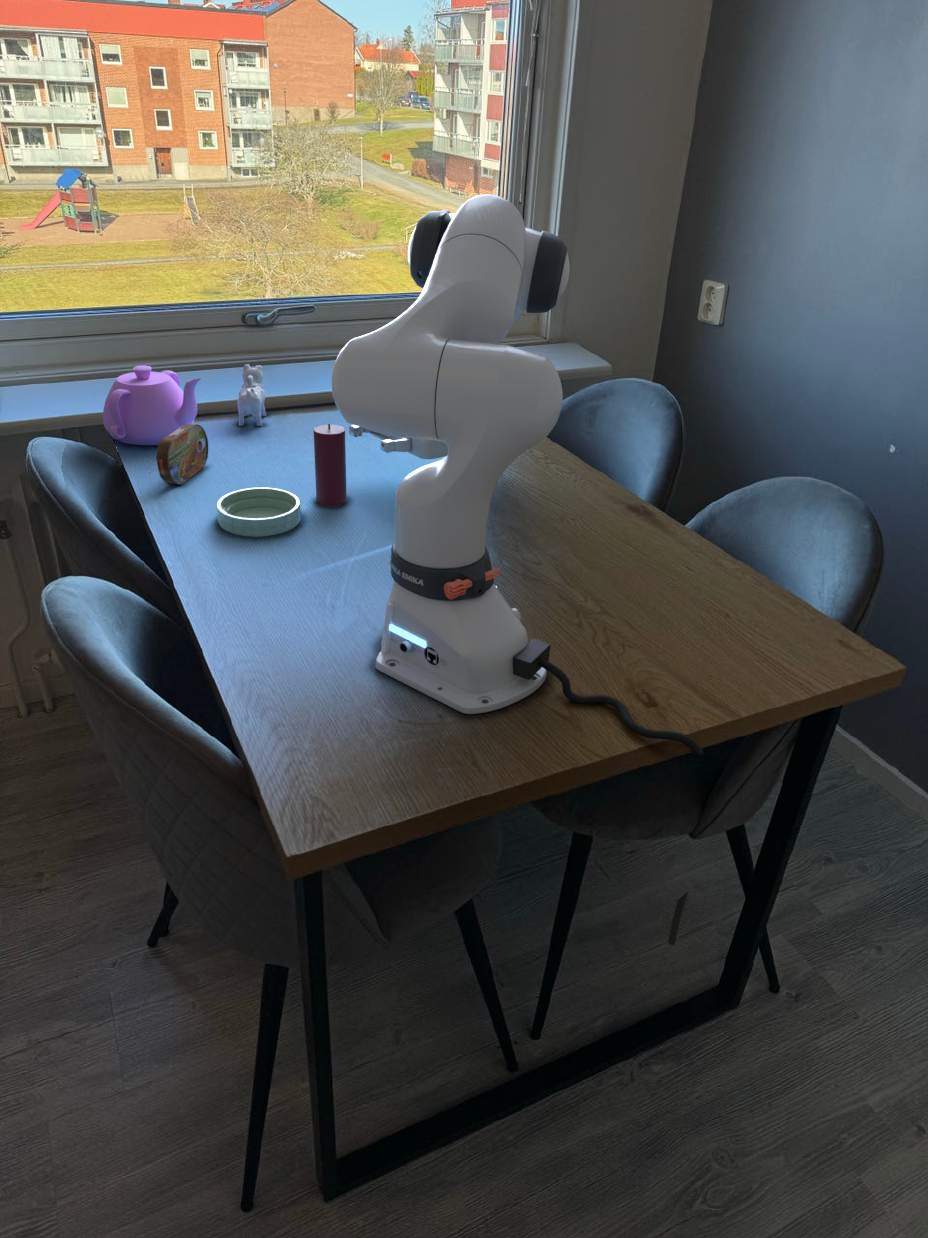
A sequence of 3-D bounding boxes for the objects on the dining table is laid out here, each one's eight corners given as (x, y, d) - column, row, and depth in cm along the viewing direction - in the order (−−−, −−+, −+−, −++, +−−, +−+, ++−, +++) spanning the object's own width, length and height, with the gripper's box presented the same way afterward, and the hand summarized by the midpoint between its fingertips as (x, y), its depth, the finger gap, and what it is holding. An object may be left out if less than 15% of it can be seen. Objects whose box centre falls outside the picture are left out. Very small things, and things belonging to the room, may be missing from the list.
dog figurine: (268, 409, 195) (265, 360, 189) (263, 427, 184) (260, 376, 179) (243, 408, 194) (240, 360, 189) (237, 427, 183) (233, 376, 178)
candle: (352, 502, 153) (351, 425, 146) (327, 509, 150) (324, 431, 143) (335, 493, 156) (333, 416, 149) (310, 499, 153) (307, 422, 146)
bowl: (316, 525, 144) (315, 507, 143) (243, 545, 137) (242, 526, 135) (274, 498, 153) (273, 481, 151) (204, 516, 145) (202, 498, 143)
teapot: (175, 464, 164) (166, 391, 157) (78, 446, 170) (65, 374, 163) (238, 429, 182) (232, 362, 175) (148, 414, 188) (139, 348, 181)
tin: (173, 491, 153) (167, 445, 149) (157, 489, 154) (150, 443, 149) (211, 462, 166) (207, 418, 162) (196, 460, 166) (191, 416, 162)
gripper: (394, 393, 165) (332, 405, 157) (465, 423, 152) (402, 437, 144) (394, 426, 168) (333, 439, 160) (464, 457, 155) (402, 474, 147)
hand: (366, 439), depth 152 cm, fingers open, 8 cm apart
